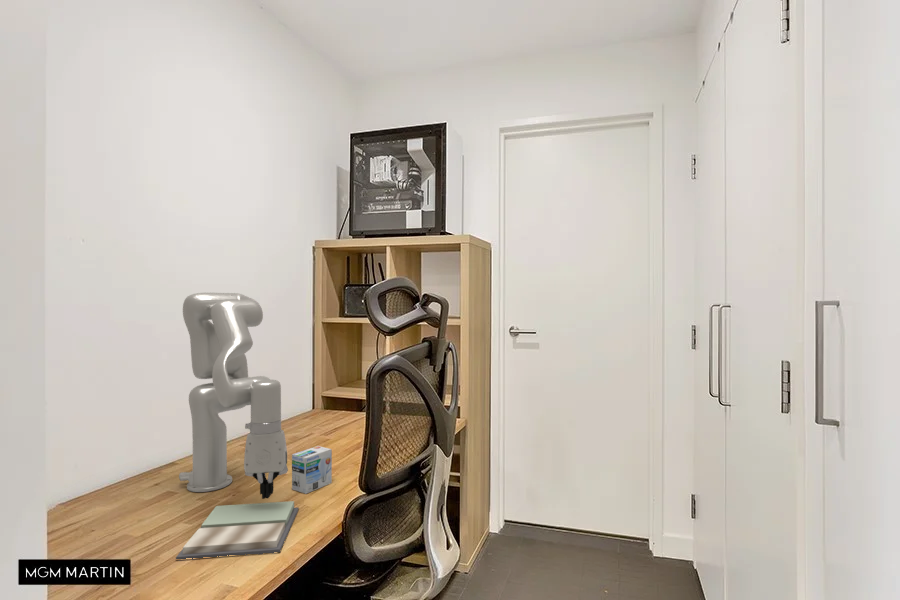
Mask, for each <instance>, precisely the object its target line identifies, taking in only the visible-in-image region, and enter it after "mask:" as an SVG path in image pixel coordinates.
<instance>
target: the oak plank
mask: <svg viewBox="0 0 900 600" xmlns="http://www.w3.org/2000/svg"><path fill="white" fill-rule="evenodd" d="M285 527H286V525H285V523H270V524H255V525H240V526H226V527H211V528H201V527H198V529H197V530H196V531H195V532H194V534H193V535H192V536H191V537H190V539H188V540H187V542H186V543H185V544H184V545H183V547H182V549H183V554H194V553H207V552H221V551H234V550H248V549H261V548H275V547H277V545H278V543H279V540H280V538H281V536H282V534H283V532H284V530H285Z"/></svg>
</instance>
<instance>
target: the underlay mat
mask: <svg viewBox="0 0 900 600" xmlns="http://www.w3.org/2000/svg"><path fill="white" fill-rule="evenodd" d="M298 512H299V507H294V508H293V511H292V513H291V516H290V518H289V520H288V523H287V525H286V527H285V530H284V532H283V534H282V536H281V538H280V540H279V543H278V545H277V547H275V548H261V549H248V550H234V551H221V552H207V553H194V554H183V548H182V549H181V551H179V553H178V554H177V555H176V557H175V560H176V559H186V558H192V560H194V559H193V558H203V557H217V556H218V557H219V556H227V555H228V556H229V555H245V554H246V555H245V556H248V555H247V554H258V555H264V554H263V553H272V554H275V553H274V552H280V553H281V551H282V549H283V547H284V545H285V542H286V540H287V538H286V537H288V535H289V533H290V531H291V529H290V528H292V526H293V524H294V522H295V520H296V517H297V515H298ZM285 539H286V540H285ZM284 541H285V542H284ZM283 544H284V545H283ZM282 546H283V547H282ZM281 548H282V549H281ZM280 550H281V551H280ZM219 558H220V557H219Z"/></svg>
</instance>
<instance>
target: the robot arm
mask: <svg viewBox="0 0 900 600" xmlns="http://www.w3.org/2000/svg"><path fill="white" fill-rule="evenodd" d="M263 313H264V312H263V309H262V306H261V305H260V303H259V302H258V301H257V300H256V299H253V298H252V297H249V296H247V295H245V294H242V293H238V292H237V293H236V292H198V293H192V294H189V295H187V296H186V298H184V300H183V303H182V317H183V321H184V324H185V326H186V329H187V332H188V335H189V340H190V356H191V367H192V373H193V375H194V377H195V378H196V379H200V380H211V379H212V382H209V383H203V384H199V385H197V386H195V387H194V388H192V389H191V390H190V392H189V394H188V404H189V410H190V415H191V428H192V433H191V434H192V436H191V437H192V470H191V471H190V472H189V471H184V472H183V471H181V472H179V475H178V479H179V480H180V482H182V481H184V482H185V481H188V483H187V485H186V489H187V490H188V491H189V492H192V493H193V492H194V493H206V492H213V491H218V490H220V489H223V488H226V487H227V486H229V485H230V484H232V482H233V476H232V475H230V474H228V466H227V465H228V464H227V463H228V458H227V457H228V456H227V455H228V454H227V451H228V450H227V449H228V444H227V443H228V442H227V437H228V436H227V431H228V430H227V429H228V428H227V425H226V422H225V420H223V419H222V418H221V417H220V416H219V414H220V413H225V412H229V411H236V410H240V409H243V408H244V407H246V406H250V422H248V423H245V424H244V428H245V429H248V430H249V433H247V436H246V439H245V440H246V441H245V448H244V457H243V458H244V460H243V469H244V475H245V476H248V477H253V478H254V479H255V480H256V481H257V483H258V484H259V494H260V495H261V499H262V500H263V499H270V497H271V496H272V494H274V481H275V480H276V478H277V477H279V476H282V475H284V474H285V475H286V474H287V473H288V471H289V469H288V465H287V464H288V448H287V441H286V440H287V439H286V436H285V435H286V434H285V431H284V430H283V429H282V386H281V382H280V381H278V380H277V379H270V377H268V376H265V375H258V376H252V377H251V376H249V369H248V359H247V355H246V353H247V352H248V351H250V350H251V349H252V347H253V344H254V341H253V339H252V336H251V333H250V329H249V328H250V327H251V328H252V327H253V328H254V327H257V326H259V325H260V324H261V323H262V321H263V320H264V314H263ZM211 321H212V322H211ZM267 473H268V477H266V474H267Z"/></svg>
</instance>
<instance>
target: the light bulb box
mask: <svg viewBox="0 0 900 600" xmlns="http://www.w3.org/2000/svg"><path fill="white" fill-rule="evenodd" d="M332 450H333V449H332V448H328V447H324V446H320V445H316V446H314V447H311V448H307V449H305V450H302V451H298V452H295V453H292V454H291V490H294V491H295V492H300V493H301V494H309V493H311V492H314V491H316V490H319V489H321V488H324V487H326V486H327V485H330V484H332V483H333V482H332V479H333V478H332V477H333V476H332V475H333V472H332V468H333V467H332V465H333V463H332V461H333V460H332V459H333V458H332V455H333V454H332V453H333V451H332Z"/></svg>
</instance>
